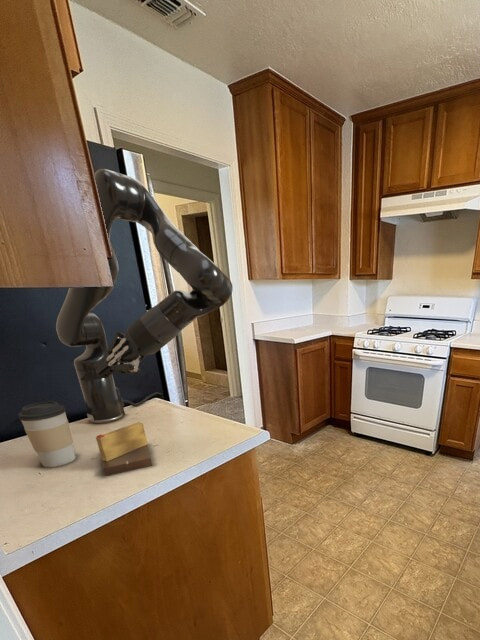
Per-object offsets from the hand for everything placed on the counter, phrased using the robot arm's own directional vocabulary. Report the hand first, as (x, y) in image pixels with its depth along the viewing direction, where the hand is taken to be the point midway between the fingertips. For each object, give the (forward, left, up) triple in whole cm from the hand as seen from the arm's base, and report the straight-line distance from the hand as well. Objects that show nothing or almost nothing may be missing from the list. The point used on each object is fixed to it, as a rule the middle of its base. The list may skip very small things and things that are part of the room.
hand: (100, 374), depth 82 cm
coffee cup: (+6, -14, -22) cm, 26 cm away
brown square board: (0, +2, -21) cm, 22 cm away
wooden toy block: (0, +2, -19) cm, 20 cm away
